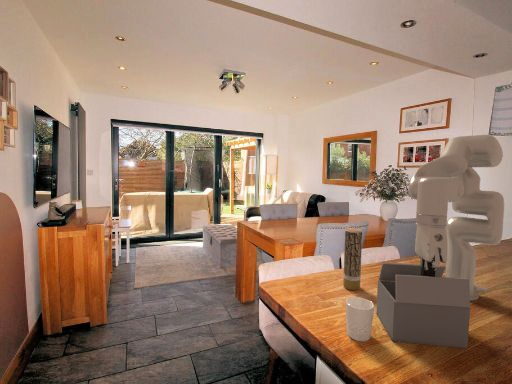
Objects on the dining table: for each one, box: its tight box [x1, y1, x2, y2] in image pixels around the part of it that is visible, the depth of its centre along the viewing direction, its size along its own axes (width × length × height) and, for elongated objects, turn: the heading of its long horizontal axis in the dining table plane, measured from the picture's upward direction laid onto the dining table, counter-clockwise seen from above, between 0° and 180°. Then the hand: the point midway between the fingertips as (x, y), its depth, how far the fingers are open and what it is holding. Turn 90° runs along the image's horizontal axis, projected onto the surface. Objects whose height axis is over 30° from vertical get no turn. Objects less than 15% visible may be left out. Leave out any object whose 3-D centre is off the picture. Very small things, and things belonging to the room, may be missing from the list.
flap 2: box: [396, 275, 471, 308], centre depth 79 cm, size 8×19×1 cm
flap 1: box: [378, 262, 446, 281], centre depth 93 cm, size 8×19×1 cm
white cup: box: [345, 296, 375, 342], centre depth 84 cm, size 8×8×10 cm
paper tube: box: [342, 227, 363, 291], centre depth 118 cm, size 7×7×25 cm
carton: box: [376, 279, 471, 349], centre depth 87 cm, size 20×16×12 cm
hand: (427, 282), depth 82 cm, fingers closed
